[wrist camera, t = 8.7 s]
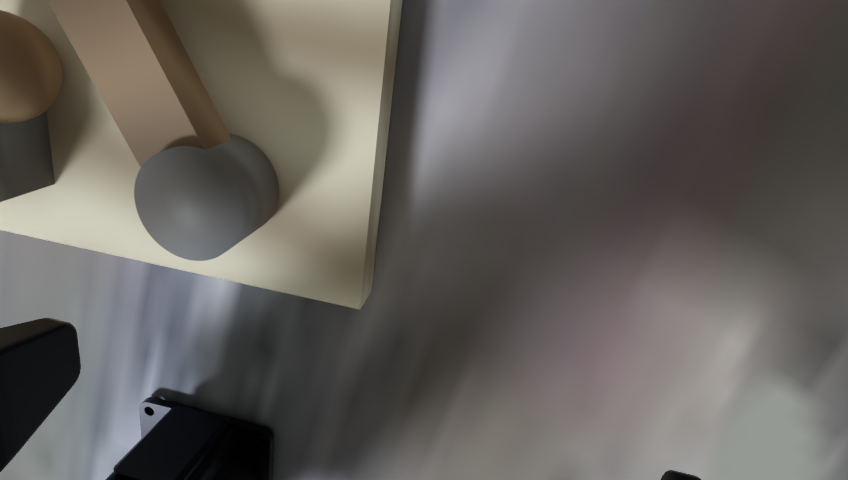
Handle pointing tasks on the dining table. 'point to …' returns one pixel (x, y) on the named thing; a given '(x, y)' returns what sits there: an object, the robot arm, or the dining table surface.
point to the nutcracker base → (241, 115)
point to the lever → (170, 129)
